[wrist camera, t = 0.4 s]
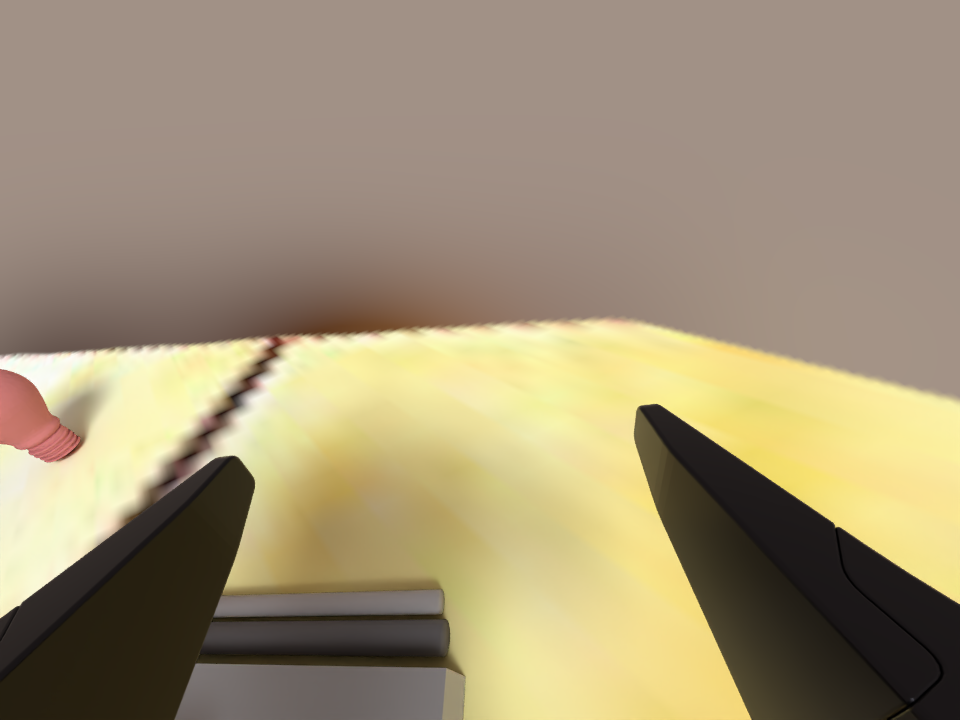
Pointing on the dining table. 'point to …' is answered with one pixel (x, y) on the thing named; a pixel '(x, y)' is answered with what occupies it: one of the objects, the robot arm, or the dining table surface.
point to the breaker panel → (321, 693)
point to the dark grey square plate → (331, 625)
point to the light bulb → (31, 420)
